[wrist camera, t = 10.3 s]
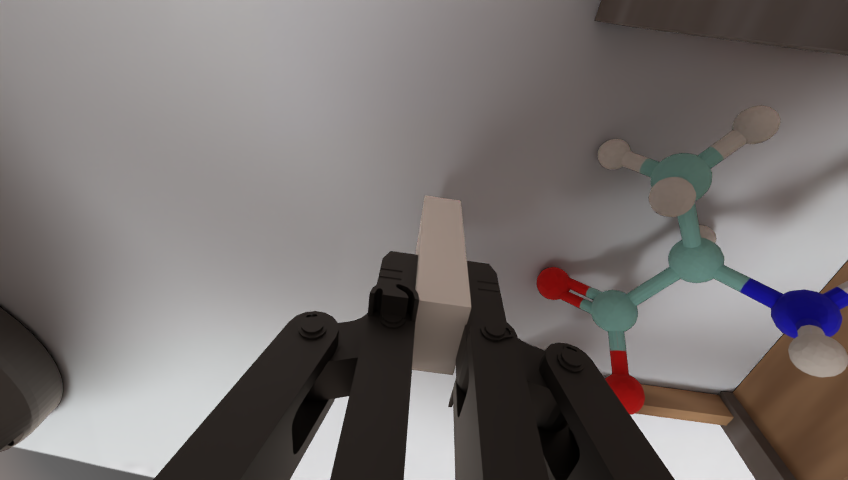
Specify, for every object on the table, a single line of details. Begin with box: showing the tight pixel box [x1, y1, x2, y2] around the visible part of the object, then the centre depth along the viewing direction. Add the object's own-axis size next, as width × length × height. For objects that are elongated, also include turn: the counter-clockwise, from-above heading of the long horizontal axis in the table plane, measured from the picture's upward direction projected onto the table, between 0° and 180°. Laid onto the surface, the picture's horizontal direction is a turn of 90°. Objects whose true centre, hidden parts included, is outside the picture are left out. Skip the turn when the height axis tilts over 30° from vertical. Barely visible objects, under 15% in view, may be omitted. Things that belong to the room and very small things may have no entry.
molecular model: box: [537, 106, 848, 414], centre depth 15 cm, size 12×10×10 cm
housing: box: [595, 0, 848, 480], centre depth 13 cm, size 16×20×14 cm
